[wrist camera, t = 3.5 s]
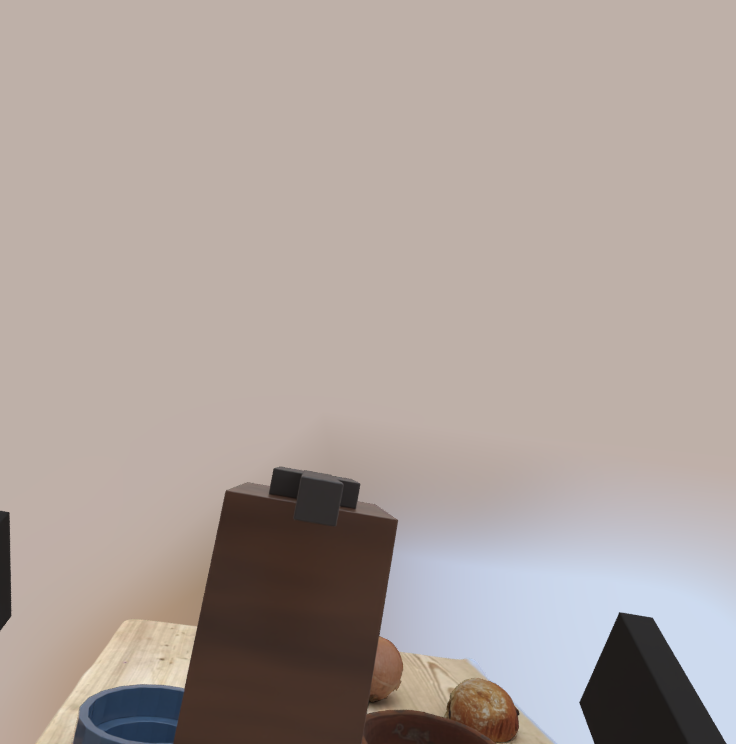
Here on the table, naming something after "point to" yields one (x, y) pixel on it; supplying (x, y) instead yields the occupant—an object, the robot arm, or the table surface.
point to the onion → (385, 670)
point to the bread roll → (484, 709)
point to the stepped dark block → (315, 494)
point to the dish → (417, 729)
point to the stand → (287, 624)
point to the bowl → (130, 715)
